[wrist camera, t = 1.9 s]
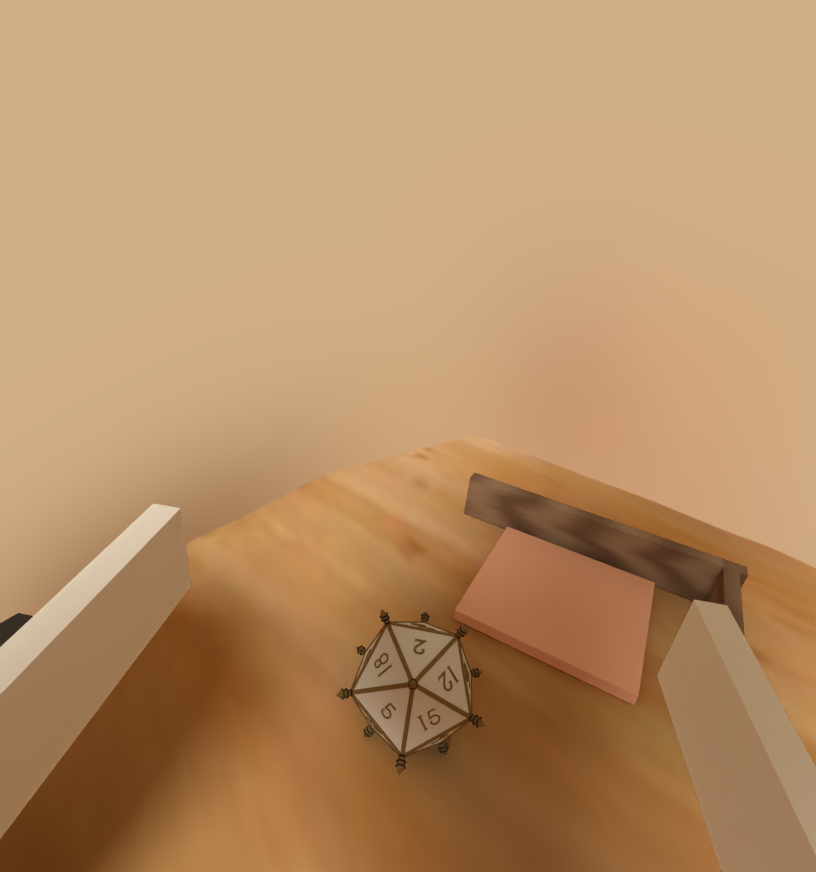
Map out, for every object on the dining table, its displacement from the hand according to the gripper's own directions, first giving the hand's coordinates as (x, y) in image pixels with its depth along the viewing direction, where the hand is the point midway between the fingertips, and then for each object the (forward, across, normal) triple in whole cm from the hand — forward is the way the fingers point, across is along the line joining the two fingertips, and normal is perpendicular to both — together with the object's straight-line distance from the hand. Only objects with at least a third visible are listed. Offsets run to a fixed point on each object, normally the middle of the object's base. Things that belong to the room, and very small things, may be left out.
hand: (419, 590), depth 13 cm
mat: (+24, +11, -22) cm, 34 cm away
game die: (+11, 0, -22) cm, 25 cm away
